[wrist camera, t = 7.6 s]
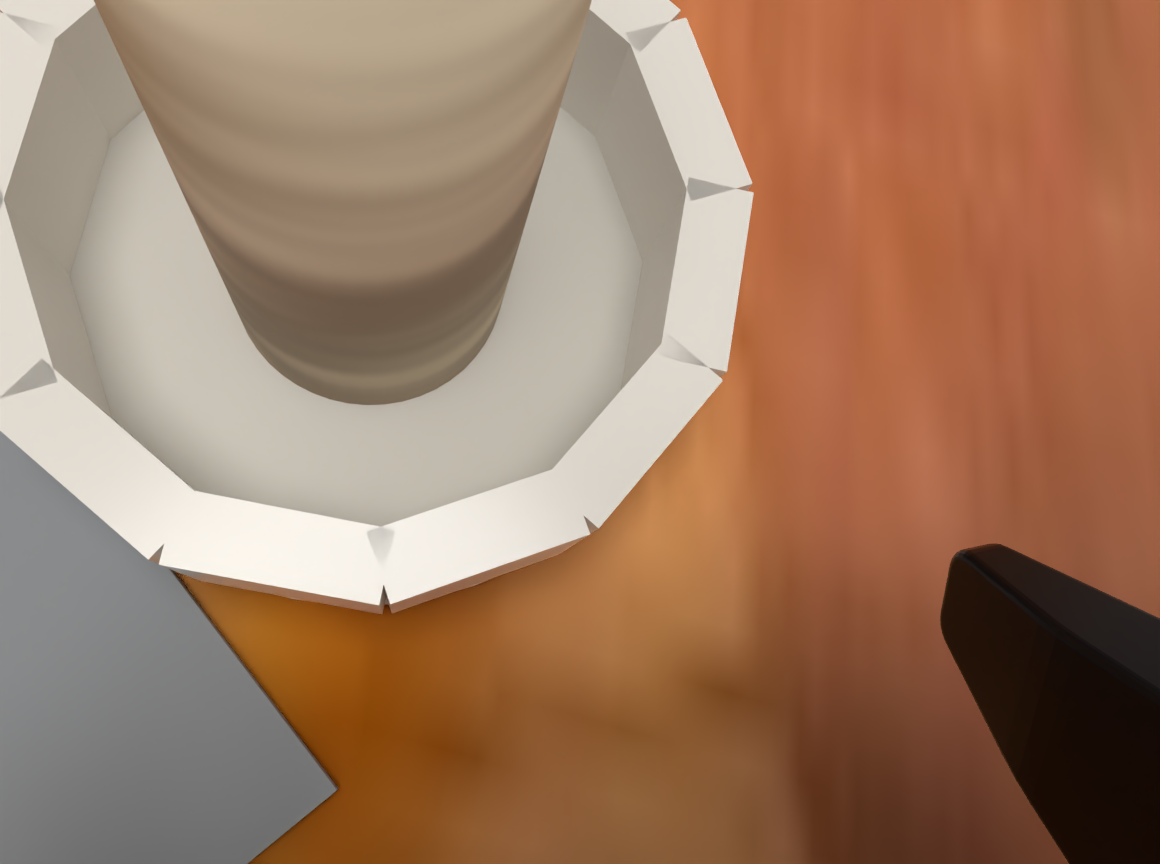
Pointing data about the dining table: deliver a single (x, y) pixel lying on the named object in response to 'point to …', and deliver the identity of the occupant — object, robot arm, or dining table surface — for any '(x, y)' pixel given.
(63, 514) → the felt mat
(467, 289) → the pepper mill
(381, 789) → the dining table surface
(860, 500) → the dining table surface
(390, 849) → the dining table surface
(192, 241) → the bowl
